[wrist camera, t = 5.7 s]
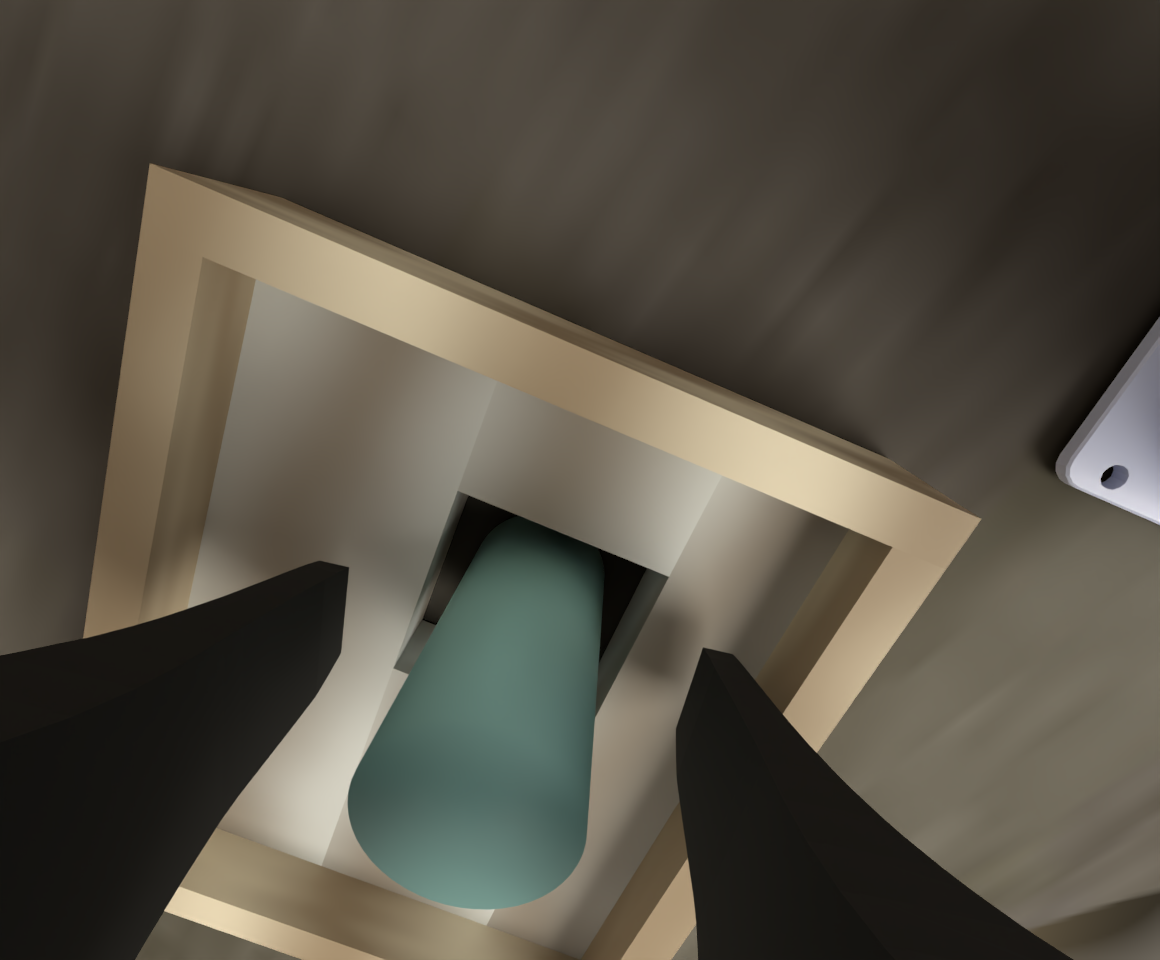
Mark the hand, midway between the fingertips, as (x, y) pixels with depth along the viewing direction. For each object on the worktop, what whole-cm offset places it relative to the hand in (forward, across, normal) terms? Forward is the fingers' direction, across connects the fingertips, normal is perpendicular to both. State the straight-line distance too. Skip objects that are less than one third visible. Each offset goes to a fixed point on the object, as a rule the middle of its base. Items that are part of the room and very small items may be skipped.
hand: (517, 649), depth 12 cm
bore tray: (+3, +1, +2) cm, 4 cm away
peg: (+3, 0, 0) cm, 3 cm away
